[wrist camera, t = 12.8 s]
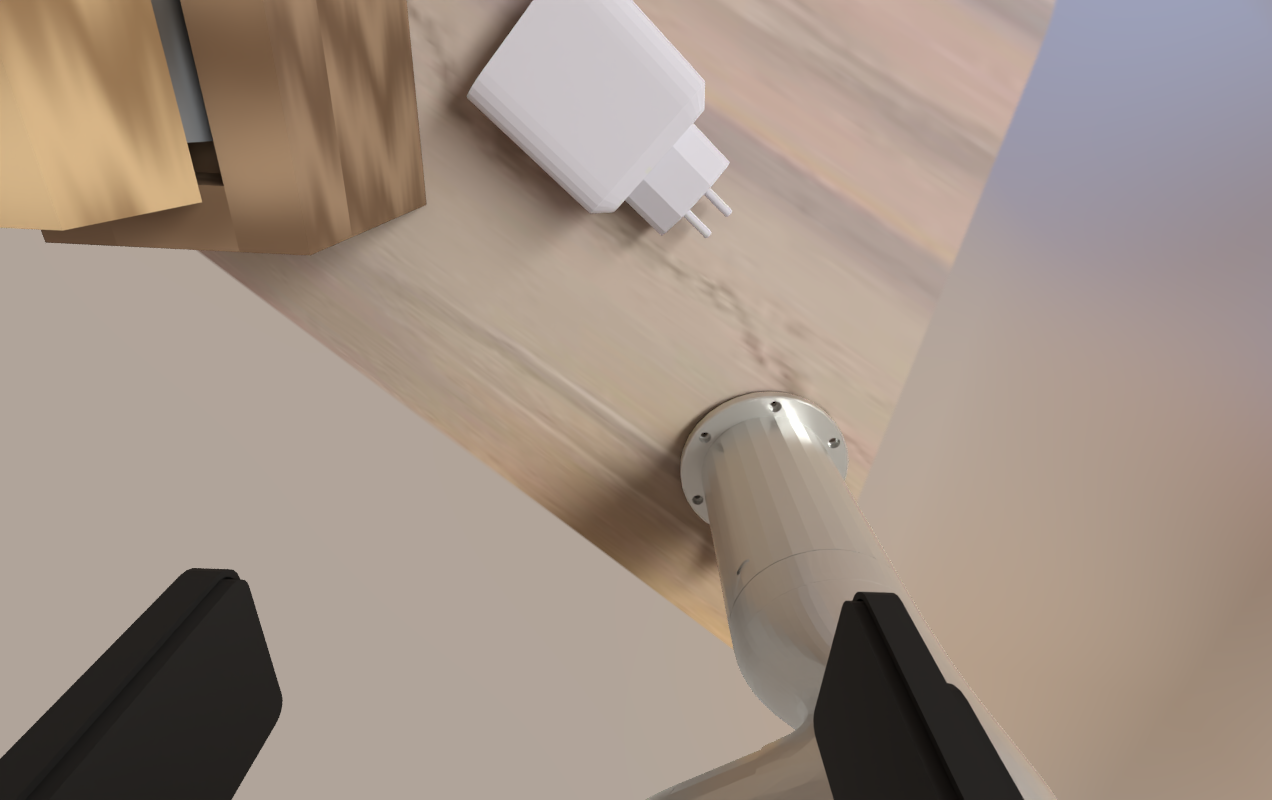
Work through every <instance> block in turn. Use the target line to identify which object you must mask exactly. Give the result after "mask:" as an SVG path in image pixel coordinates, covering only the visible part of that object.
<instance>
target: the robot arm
mask: <svg viewBox="0 0 1272 800" xmlns="http://www.w3.org/2000/svg"><path fill="white" fill-rule="evenodd" d="M774 401H776V403H774V404H771V403H772V402H774ZM705 432H706V434H702V433H705ZM847 469H848V451H847V446H846V443H845V440H844V437H843V435H842V433H841V431H840V430H839V428H838V426H837V425H836V423H835V422H834V421H833V419H832V418H831V417H830V416H829V415H828V413H827V412H825V411H824V410H823V409H822V408H820V407H819V406H818V405H817V404H815V403H813V402H811V401H809V400H807V399H805V398H803V397H801V396H797V395H793V394H790V393H785V392H773V391H767V392H756V393H750V394H747V395H743V396H739V397H736V398H734V399H732V400H729V401H727V402H725V403H723V404H721V405H720V406H718V407H717V408H715V409H714V410H712V411H711V412H709V413H708V414H707V415H706V416H705V417H704V418H703V419H702V420H701V421H700V422H699V423H698V424H697V425H696V426H695V428H694V429H693V431H692V432H691V434H690V435H689V437H688V439H687V441H686V443H685V446H684V448H683V451H682V456H681V461H680V477H681V482H682V489H683V491H684V494H685V497H686V499H687V501H688V503H689V504H690V506H691V507H692V509H693V511H694V512H695V513H696V514H697V515H698V516H699V517H700V518H701V519H702V520H703V521H705V522H706V523H708V524H709V525H710V528H711V533H712V539H713V544H714V549H715V555H716V560H717V565H718V571H719V576H720V581H721V586H722V592H723V597H724V602H725V608H726V613H727V618H728V624H729V629H730V633H731V638H732V643H733V649H734V653H735V656H736V660H737V663H738V666H739V668H740V670H741V673H742V675H743V677H744V679H745V680H746V682H747V684H748V685H749V687H750V688H751V689H752V691H753V692H754V694H755V695H756V696H757V697H758V698H759V700H761V702H762V703H763V704H764V705H765V706H766V707H767V708H769V709H770V710H771V711H772V712H773V713H774V714H775V715H776V716H778V717H779V718H780V719H782V720H783V721H784V722H786V723H787V724H788V725H790V726H791V727H792V728H794V729H795V731H794V732H792V733H791V734H789V735H787V736H785V737H782V738H780V739H778V740H776V741H774V742H772V743H769V744H767V745H765V746H764V747H762V749H761V750H759V751H757V752H754V753H752V754H749V755H747V756H744V757H742V758H740V759H737V760H735V761H732V762H730V763H728V764H725V765H723V766H720V767H718V768H716V769H713V770H711V771H709V772H706V773H704V774H701V775H699V776H696V777H694V778H692V779H689V780H687V781H685V782H682V783H679V784H677V785H675V786H673V787H670V788H668V789H666V790H664V791H661V792H659V793H657V794H655V795H654V796H652V797H650V798H648V799H646V800H1058V799H1057V798H1056V796H1055V795H1054V794H1053V792H1052V791H1051V790H1050V788H1049V787H1048V786H1047V784H1046V782H1045V781H1044V780H1043V778H1042V777H1041V776H1040V774H1039V773H1038V772H1037V771H1036V770H1035V768H1034V767H1033V766H1032V765H1031V763H1030V762H1029V761H1028V760H1027V758H1026V757H1025V756H1024V755H1023V753H1022V752H1021V751H1020V750H1019V748H1018V747H1017V746H1016V745H1015V743H1014V742H1013V741H1012V740H1011V738H1010V737H1009V736H1008V735H1007V733H1006V732H1005V731H1004V730H1003V729H1002V727H1001V726H1000V725H999V724H998V722H997V721H996V720H995V719H994V717H993V716H992V715H991V714H990V712H989V711H988V710H987V709H986V707H985V706H984V705H983V703H982V702H981V701H980V700H979V698H978V697H977V696H976V695H975V693H974V692H973V690H972V689H971V688H970V686H969V685H968V684H967V682H966V681H965V680H964V678H963V677H962V675H961V674H960V673H959V671H958V670H957V669H956V667H955V666H954V664H953V663H952V662H951V660H950V659H949V657H948V656H947V654H946V652H945V651H944V649H943V648H942V646H941V644H940V643H939V641H938V640H937V638H936V637H935V635H934V633H933V632H932V630H931V629H930V627H929V626H928V624H927V623H926V621H925V619H924V618H923V616H922V614H921V613H920V611H919V609H918V608H917V606H916V604H915V603H914V601H913V599H912V597H911V596H910V594H909V592H908V591H907V589H906V587H905V585H904V584H903V582H902V581H901V579H900V577H899V575H898V573H897V572H896V570H895V568H894V566H893V565H892V563H891V561H890V559H889V558H888V556H887V554H886V552H885V551H884V549H883V547H882V546H881V544H880V542H879V540H878V539H877V537H876V535H875V534H874V532H873V530H872V528H871V526H870V525H869V523H868V521H867V520H866V518H865V516H864V514H863V513H862V511H861V509H860V507H859V506H858V504H857V502H856V501H855V499H854V497H853V495H852V494H851V492H850V490H849V488H848V487H847V485H846V483H845V479H846V476H847ZM281 708H282V694H281V691H280V687H279V684H278V681H277V678H276V674H275V671H274V668H273V664H272V661H271V658H270V654H269V651H268V648H267V644H266V641H265V638H264V634H263V631H262V628H261V625H260V621H259V618H258V614H257V611H256V608H255V605H254V601H253V598H252V594H251V591H250V588H249V585H248V583H247V582H246V581H245V580H240V578H239V576H238V574H237V573H236V572H235V571H234V570H229V569H201V568H192V569H189V570H187V571H185V572H184V573H183V574H181V575H180V576H179V577H178V578H177V579H176V580H175V581H174V582H173V583H172V584H171V585H170V586H169V587H168V588H167V589H166V591H165V592H164V593H163V594H162V595H161V596H160V597H159V598H158V599H157V600H156V601H155V602H154V603H153V604H152V605H151V606H150V607H149V608H148V609H147V610H146V611H145V612H144V613H143V614H142V615H141V616H140V617H139V618H138V619H137V620H136V621H135V622H134V623H133V624H132V625H131V626H130V627H129V628H128V629H127V630H126V631H125V632H124V633H123V634H122V635H121V636H120V637H119V639H117V640H116V641H115V643H113V644H112V646H111V647H110V648H109V649H108V650H107V651H106V652H105V653H104V654H103V655H102V656H101V657H100V658H99V659H98V660H97V661H96V662H95V663H94V664H93V665H92V666H91V667H90V668H89V669H88V670H87V671H86V672H85V673H84V674H83V675H82V676H81V677H80V678H79V679H78V680H77V681H76V682H75V683H74V684H73V685H72V686H71V687H70V688H69V689H68V690H67V692H65V693H64V694H63V695H62V696H61V697H60V699H59V700H58V701H57V702H56V703H55V704H54V705H53V706H52V707H51V708H50V709H49V710H48V711H47V712H46V713H45V714H44V715H43V716H42V717H41V718H40V719H39V720H38V721H37V722H36V723H35V724H34V725H33V726H32V727H31V728H30V729H29V730H28V731H27V732H26V733H25V734H24V735H23V736H22V737H21V738H20V739H19V740H18V741H17V742H16V743H15V744H14V745H13V746H12V748H11V749H10V750H8V751H7V753H6V754H5V755H4V756H3V757H2V758H1V759H0V800H231V799H232V798H233V796H234V794H235V793H236V791H237V789H238V787H239V786H240V784H241V782H242V781H243V779H244V777H245V776H246V774H247V772H248V770H249V768H250V767H251V765H252V764H253V762H254V760H255V758H256V757H257V755H258V753H259V751H260V750H261V748H262V747H263V745H264V743H265V741H266V739H267V738H268V736H269V735H270V733H271V731H272V729H273V728H274V726H275V724H276V722H277V720H278V718H279V715H280V713H281Z"/></svg>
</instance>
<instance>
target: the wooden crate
mask: <svg viewBox="0 0 1272 800" xmlns="http://www.w3.org/2000/svg"><path fill="white" fill-rule="evenodd" d="M180 2H181V6H182V10H183V14H184V19H185V23H186V27H187V31H188V36H189V40H190V44H191V48H192V53H193V57H194V61H195V65H196V70H197V74H198V78H199V82H200V86H201V91H202V95H203V99H204V103H205V108H206V112H207V116H208V120H209V125H210V129H211V133H212V137H213V141H206V142H190V143H187V144H188V148H189V152H190V156H191V160H192V164H193V168H194V172H195V176H196V180H197V184H198V188H199V192H200V195H201V199H202V202H200V203H196V204H191V205H186V206H181V207H176V208H171V209H166V210H161V211H156V212H151V213H147V214H142V215H137V216H132V217H127V218H122V219H117V220H112V221H107V222H102V223H98V224H93V225H88V226H83V227H78V228H73V229H68V230H63V231H61V230H41V231H42V234H43V237H44V239H45V242H48V243H67V244H68V243H69V244H90V245H108V246H109V245H110V246H129V247H150V248H170V249H190V250H191V249H192V250H211V251H231V252H252V253H272V254H293V255H312V254H314V253H317V252H319V251H321V250H323V249H326V248H328V247H330V246H333V245H335V244H337V243H339V242H342V241H344V240H346V239H349V238H351V237H353V236H356V235H358V234H360V233H362V232H365V231H367V230H369V229H372V228H374V227H376V226H378V225H381V224H383V223H385V222H388V221H390V220H392V219H394V218H397V217H399V216H401V215H404V214H406V213H408V212H410V211H413V210H415V209H417V208H420V207H422V206H424V205H426V195H425V185H424V175H423V164H422V154H421V144H420V134H419V123H418V113H417V103H416V93H415V82H414V72H413V62H412V52H411V42H410V31H409V21H408V11H407V1H406V0H180Z"/></svg>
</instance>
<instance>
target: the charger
mask: <svg viewBox="0 0 1272 800" xmlns="http://www.w3.org/2000/svg"><path fill="white" fill-rule="evenodd" d="M467 98H468V99H469V100H470V101H471V102H472V103H473V104H474V105H475V106H476V107H477V108H478V109H479V110H480V111H481V112H482V113H483V114H485V115H486V116H487V117H488V118H489V119H490V120H491V121H492V122H493V123H494V124H495V125H496V126H497V127H498V128H499V129H501V130H502V131H503V132H504V133H505V134H506V135H507V136H508V137H509V138H510V139H511V140H512V141H513V142H514V143H515V144H517V145H518V146H519V147H520V148H521V149H522V150H523V151H524V152H525V153H526V154H527V155H528V156H529V157H530V158H531V159H532V160H534V161H535V162H536V163H537V164H538V165H539V166H540V167H541V168H542V169H543V170H544V171H545V172H546V173H547V174H548V175H550V176H551V177H552V178H553V179H554V180H555V181H556V182H557V183H558V184H559V185H560V186H561V187H562V188H563V189H564V190H566V191H567V192H568V193H569V194H570V195H571V196H572V197H573V198H574V199H575V200H576V201H577V202H578V203H579V204H580V205H581V206H583V207H584V208H585V209H586V210H587V211H588V212H589V213H611V212H614V211H615V210H616V209H617V208H618V207H619V206H620V205H621V204H622V203H623V202H624V201H626V202H627V203H628V204H629V205H630V206H631V207H632V208H633V209H634V210H636V211H637V212H638V213H639V214H640V215H641V216H642V217H643V218H644V219H645V220H646V221H647V222H648V223H649V224H650V225H651V226H652V227H653V228H654V229H655V230H656V231H657V232H658V233H659V234H660V235H661V236H662V235H663V234H665V233H666V232H667V231H668V230H669V229H670V228H671V227H673V226H674V225H675V224H676V223H677V222H678V221H679V220H680V219H681V218H682V217H683V216H684V217H685V218H686V219H687V220H688V221H689V222H690V223H691V224H692V225H693V226H694V227H695V228H696V229H697V230H698V231H699V232H700V233H701V234H702V235H703V236H704V237H705V238H708V237H709V236H710V235H711V231H710V230H709V229H708V228H707V227H706V226H705V225H704V224H703V223H702V222H701V220H700V219H699V218H698V217H697V216H696V215H695V214H694V213H693V212H692V211H691V210H690V209H691V208H692V207H693V206H694V204H695V203H696V202H697V201H698V200H699V199H700V198H701V197H702V196H703V195H705V196H706V197H707V198H708V199H709V200H710V201H711V202H712V203H713V204H714V205H715V206H716V207H717V208H718V209H719V210H720V211H721V212H722V213H723V214H724V216H725V217H727V216H729V215H731V213H732V210H731V208H730V207H729V206H728V205H727V204H726V203H725V202H724V201H723V200H722V199H721V198H720V197H719V196H718V195H717V194H716V193H715V192H714V191H713V190H712V189H711V188H710V187H711V186H712V185H713V184H714V183H715V181H716V180H717V179H718V178H719V176H720V175H721V174H722V173H723V171H724V170H725V169H726V168H727V166H728V164H729V163H730V162H729V161H728V160H727V159H726V158H725V157H724V156H723V155H722V153H721V152H720V151H719V150H718V149H717V148H716V147H715V146H714V145H713V144H712V143H711V142H710V141H709V140H708V138H707V137H706V136H705V135H704V134H703V133H702V132H701V131H700V130H699V129H698V128H697V127H696V126H695V124H694V121H695V120H696V119H697V118H698V117H699V116H700V114H701V113H702V112H703V111H704V105H705V80H704V79H703V78H702V77H701V76H700V75H699V74H698V73H697V71H696V70H695V69H694V68H693V67H692V66H691V65H690V64H689V63H688V61H687V60H686V59H685V58H684V57H683V56H682V55H681V54H680V53H679V51H678V50H677V49H676V48H675V47H674V46H673V45H672V44H671V43H670V41H669V40H668V39H667V38H666V37H665V36H664V35H663V34H662V33H661V31H660V30H659V29H658V28H657V27H656V26H655V25H654V24H653V23H652V21H651V20H650V19H649V18H648V17H647V16H646V15H645V14H644V13H643V11H642V10H641V9H640V8H639V7H638V6H637V5H636V4H635V2H634V1H633V0H533V1H532V3H531V4H530V5H529V7H528V8H527V9H526V11H525V12H524V14H523V15H522V16H521V18H520V19H519V21H518V22H517V23H516V25H515V26H514V27H513V29H512V30H511V32H510V33H509V34H508V36H507V37H506V39H505V40H504V41H503V43H502V44H501V45H500V47H499V48H498V50H497V51H496V52H495V54H494V55H493V57H492V58H491V59H490V61H489V62H488V63H487V65H486V66H485V68H484V69H483V70H482V72H481V73H480V75H479V76H478V78H477V79H476V81H475V82H474V84H473V85H472V87H471V89H470V91H469V92H468V95H467Z"/></svg>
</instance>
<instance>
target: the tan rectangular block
mask: <svg viewBox="0 0 1272 800" xmlns="http://www.w3.org/2000/svg"><path fill="white" fill-rule="evenodd" d="M206 141H213V137H212V133H211V129H210V125H209V120H208V116H207V112H206V108H205V103H204V99H203V95H202V91H201V86H200V82H199V78H198V74H197V70H196V65H195V61H194V57H193V53H192V48H191V44H190V40H189V36H188V31H187V27H186V23H185V19H184V14H183V10H182V6H181V2H180V0H0V228H21V229H41V230H61V231H63V230H68V229H73V228H78V227H83V226H88V225H93V224H98V223H102V222H107V221H112V220H117V219H122V218H127V217H132V216H137V215H142V214H147V213H151V212H156V211H161V210H166V209H171V208H176V207H181V206H186V205H191V204H196V203H200V202H202V199H201V195H200V192H199V188H198V184H197V180H196V176H195V172H194V168H193V164H192V160H191V156H190V152H189V148H188V144H187V143H190V142H206Z"/></svg>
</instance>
